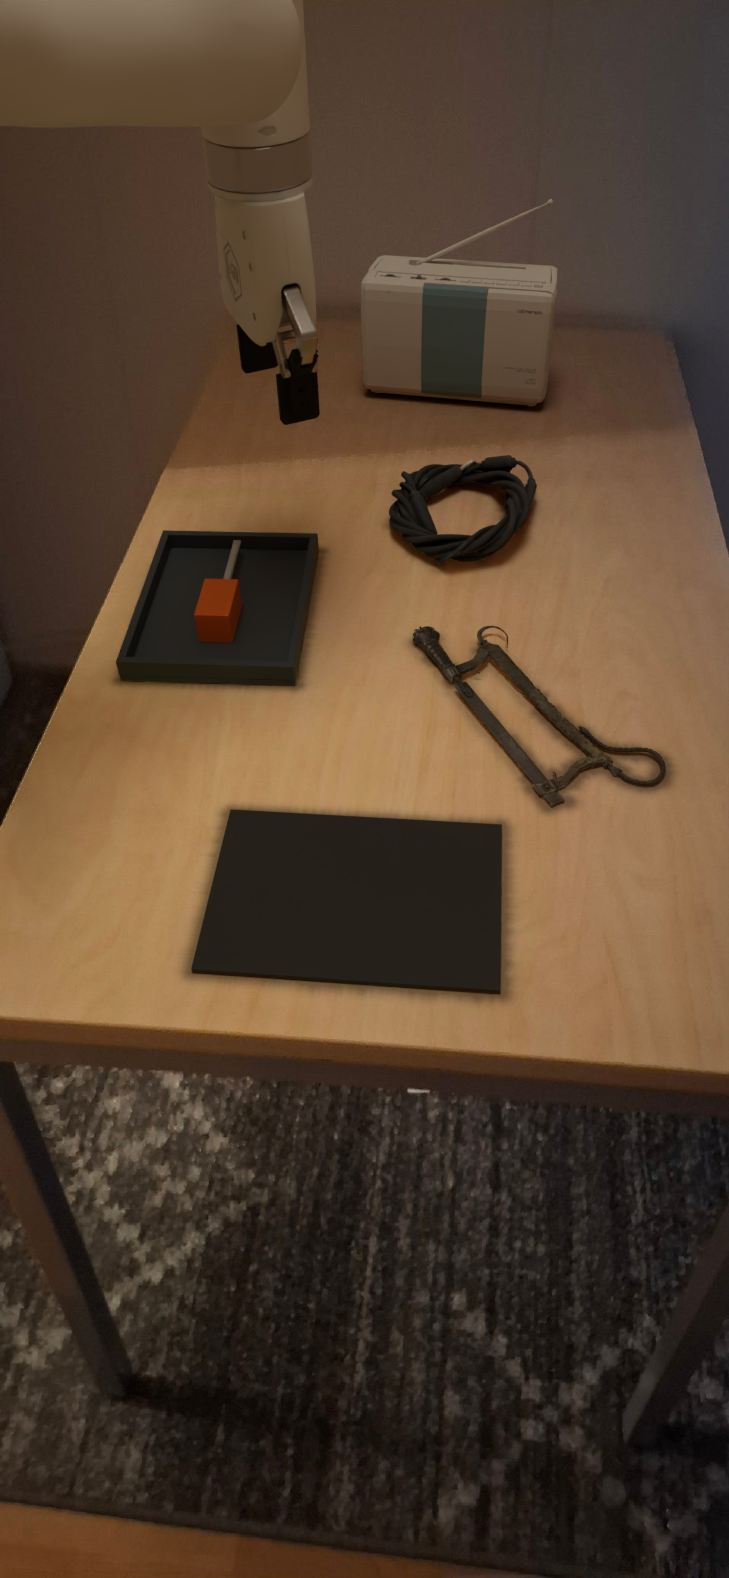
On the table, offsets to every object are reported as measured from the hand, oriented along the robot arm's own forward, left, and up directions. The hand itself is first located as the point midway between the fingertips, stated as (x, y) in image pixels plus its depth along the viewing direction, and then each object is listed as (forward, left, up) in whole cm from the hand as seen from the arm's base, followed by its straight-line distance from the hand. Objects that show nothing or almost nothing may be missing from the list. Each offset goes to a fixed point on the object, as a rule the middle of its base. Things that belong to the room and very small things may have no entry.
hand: (279, 393), depth 86 cm
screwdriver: (-7, -3, -16) cm, 18 cm away
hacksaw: (+11, -26, -17) cm, 33 cm away
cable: (+17, 0, -17) cm, 24 cm away
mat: (-9, -38, -17) cm, 43 cm away
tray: (-8, -4, -17) cm, 19 cm away
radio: (+29, +25, -17) cm, 42 cm away
